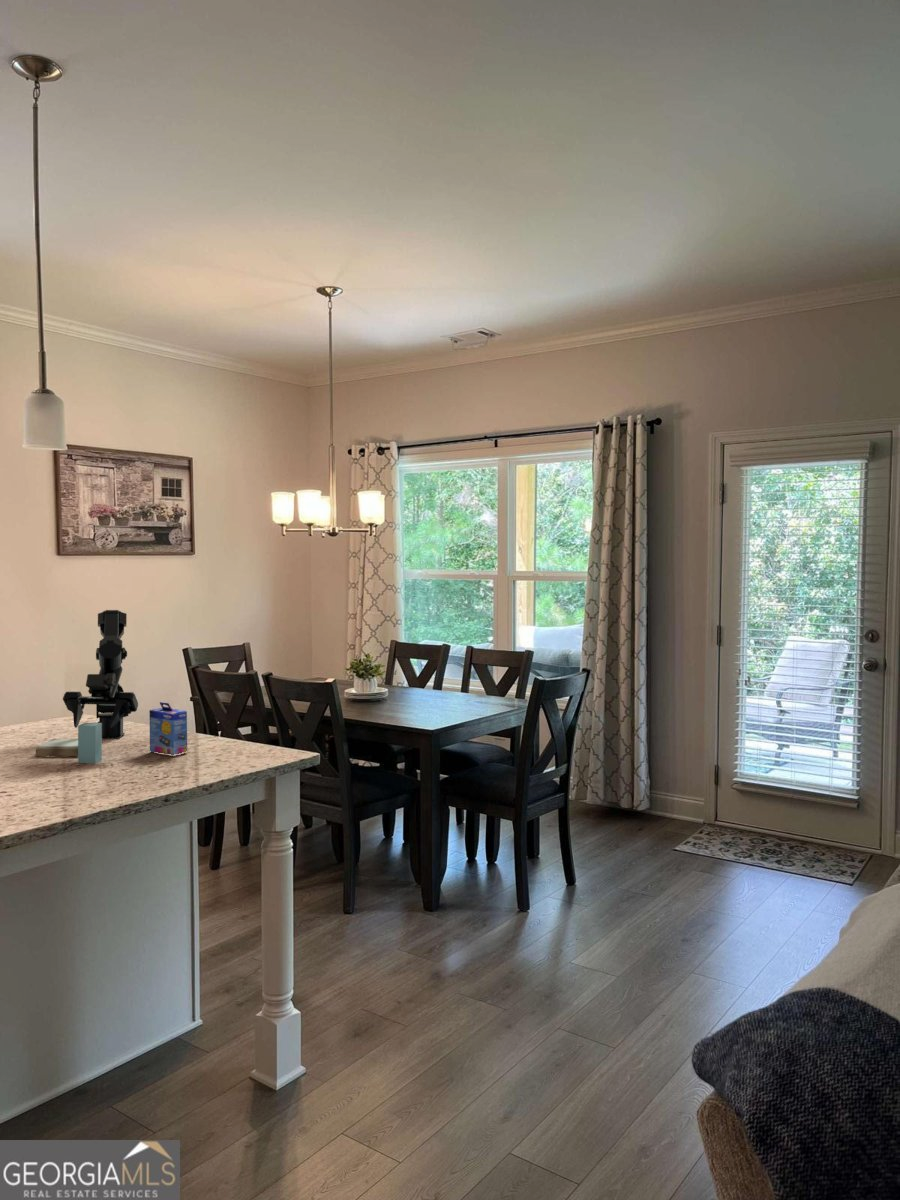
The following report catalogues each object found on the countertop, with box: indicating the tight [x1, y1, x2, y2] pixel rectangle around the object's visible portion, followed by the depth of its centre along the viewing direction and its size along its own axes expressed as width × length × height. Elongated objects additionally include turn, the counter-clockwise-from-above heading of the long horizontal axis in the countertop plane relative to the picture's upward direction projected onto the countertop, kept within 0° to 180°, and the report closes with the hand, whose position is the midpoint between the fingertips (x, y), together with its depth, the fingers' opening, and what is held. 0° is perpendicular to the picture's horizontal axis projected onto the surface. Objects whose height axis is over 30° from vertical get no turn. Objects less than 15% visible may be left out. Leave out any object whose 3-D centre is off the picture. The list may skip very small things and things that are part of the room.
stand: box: [35, 738, 78, 758], centre depth 241 cm, size 12×12×3 cm
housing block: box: [77, 722, 103, 764], centre depth 230 cm, size 4×4×10 cm
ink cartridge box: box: [149, 702, 188, 755], centre depth 242 cm, size 10×6×14 cm, turn 59°
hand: (92, 726), depth 232 cm, fingers open, 9 cm apart
